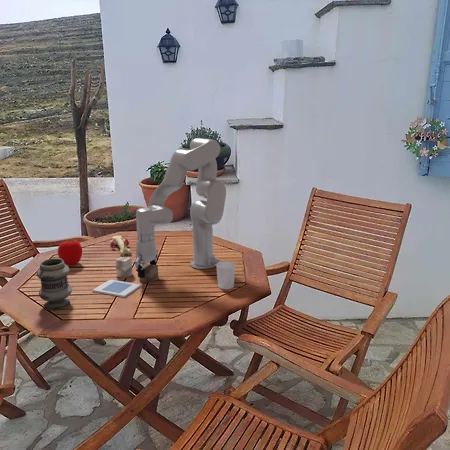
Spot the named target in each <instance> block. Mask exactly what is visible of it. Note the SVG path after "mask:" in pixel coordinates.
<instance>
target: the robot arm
mask: <svg viewBox="0 0 450 450" xmlns="http://www.w3.org/2000/svg"><path fill="white" fill-rule="evenodd" d="M220 153H221V145H220V144H219V142H218V141H217V140H215V139H211V138H203V137H202V138H201V137H197V138H196V137H195V138H193V139H192V140H191V141H190V143H189V149H176V150H175V151H174V152H173V154H172V155H171V158H170V161H169V164H168V166H167V169H166V172H165V174H164V176H163V179H162V182H161V183H159V184H158V185H157V187H156V188H155V190H153V192H152V193H151V195H150V198H149V201H148V203H147V206H146V207H141V208H140V207H139V208H138V209H136V213H135V216H136V217H135V218H136V237H137V238H136V239H137V241H136V244H135V260H134V265H135V267H136V269H137V277H138V278H139V277H140V278H145V269H144V266H145V264H148V263H149V264H151V265H157V261H158V260H157V259H158V254H159V250H158V249H157V245H156V240H155V239H156V238H155V237H156V233H155V231H156V230H155V225H168V224H170V223H171V222H172V221H173V219H174V212H173V211H172V210H171V208H169V207H166V206H164V204H165V202H166V201H167V198H168V197H169V196H170V195H171V194H173V193H174V192H176V191H178V190H180V189H181V188H182V186H183V184H184V182H185V178H186V176H187V172H188V171H195V170H197V171H198V172H197V179H196V186H195V192H196V195H198V196H199V197H200V198H204V199H206V200H203V199H198V200H195V201H194V202H192V204H191V205H190V206H189V207H190V208H189V214H190V215H189V216H190V220H191V224H192V225H191V226H192V227H191V228H192V252H193V255H192V258H193V260H191V261H190V262H189V263H190V266H191V267H192V268H193V269H198V270H206V269H212V268H214V267H217V266H216V264H217V263H219V262H222V261H221V258H217V257H216V255H215V254H214V236H213V235H214V232H213V231H214V230H213V229H214V228H213V226H214V225H217V224H219V223H220V222H221V220H222V219H223V216H224V211H225V205H226V204H225V203H226V199H227V187H226V184H225V183H224V182H222V180H220V179H217V175H218V174H217V173H218V164H217V163H218V162H217V160H216V158H217V157H218V156H219V155H220ZM140 278H139V279H140Z"/></svg>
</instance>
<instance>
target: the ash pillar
mask: <svg viewBox="0 0 450 450" xmlns="http://www.w3.org/2000/svg"><path fill="white" fill-rule="evenodd" d="M132 264H133V263H132V257H129V256H123V257H122V256H120V257H118V258H116V259H115V270H116V277H117V278H123V279H127V278H129V277H130V276H131V275H133V266H132Z"/></svg>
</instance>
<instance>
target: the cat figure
mask: <svg viewBox="0 0 450 450" xmlns="http://www.w3.org/2000/svg"><path fill="white" fill-rule="evenodd" d="M108 243H109V246H110V247H111V248H112V249H115V247H114V246H118V247H119V255H120V257H122V256H123V257H126V255H127V256H132V254H133V253H132V251H131V249H130V248H127V247H128V246H129V245H130V242H129V239H127V238H125V237H123V236H122V235H113V236H112V237H111V240H110V241H109V242H108Z"/></svg>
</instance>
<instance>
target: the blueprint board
mask: <svg viewBox="0 0 450 450" xmlns="http://www.w3.org/2000/svg"><path fill="white" fill-rule="evenodd" d="M141 287H142V284H138V283H133V282H128V281H122V280H114V279H109V280H107V281H105V282H104V283H102V284H100V285H99V286H97V287H95V288H93V289H92V293H98V294H103V295H109V296H114V297H120V298H126V297H128V296H130V295H131V294H132V293H134V292H136V291H137V290H138V289H140V288H141Z"/></svg>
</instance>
